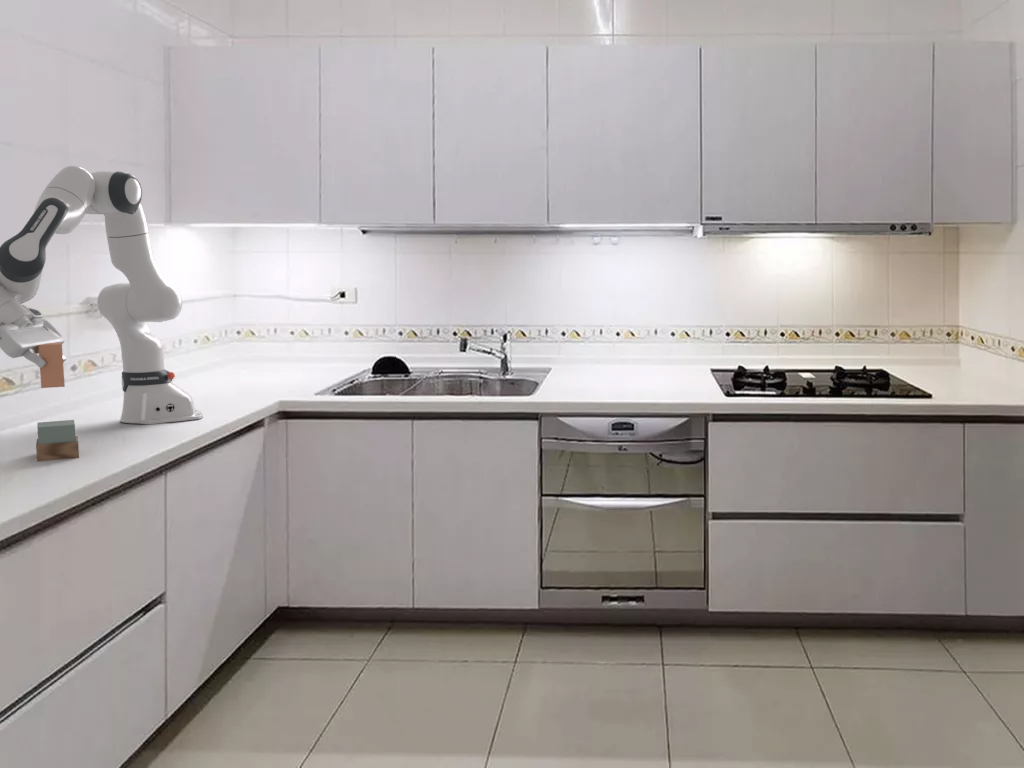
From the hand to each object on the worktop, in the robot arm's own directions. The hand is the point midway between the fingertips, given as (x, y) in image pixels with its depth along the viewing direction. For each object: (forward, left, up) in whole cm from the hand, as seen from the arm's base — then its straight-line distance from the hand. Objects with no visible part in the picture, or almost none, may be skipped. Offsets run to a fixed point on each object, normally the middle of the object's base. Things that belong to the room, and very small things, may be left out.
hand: (54, 363), depth 247 cm
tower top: (+1, 0, -18) cm, 18 cm away
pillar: (+1, 0, -5) cm, 5 cm away
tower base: (0, 0, -22) cm, 22 cm away
